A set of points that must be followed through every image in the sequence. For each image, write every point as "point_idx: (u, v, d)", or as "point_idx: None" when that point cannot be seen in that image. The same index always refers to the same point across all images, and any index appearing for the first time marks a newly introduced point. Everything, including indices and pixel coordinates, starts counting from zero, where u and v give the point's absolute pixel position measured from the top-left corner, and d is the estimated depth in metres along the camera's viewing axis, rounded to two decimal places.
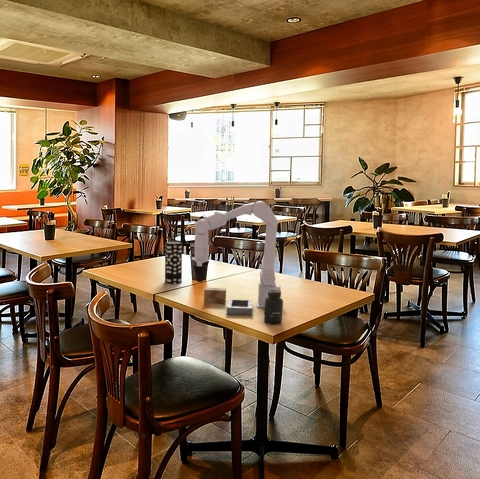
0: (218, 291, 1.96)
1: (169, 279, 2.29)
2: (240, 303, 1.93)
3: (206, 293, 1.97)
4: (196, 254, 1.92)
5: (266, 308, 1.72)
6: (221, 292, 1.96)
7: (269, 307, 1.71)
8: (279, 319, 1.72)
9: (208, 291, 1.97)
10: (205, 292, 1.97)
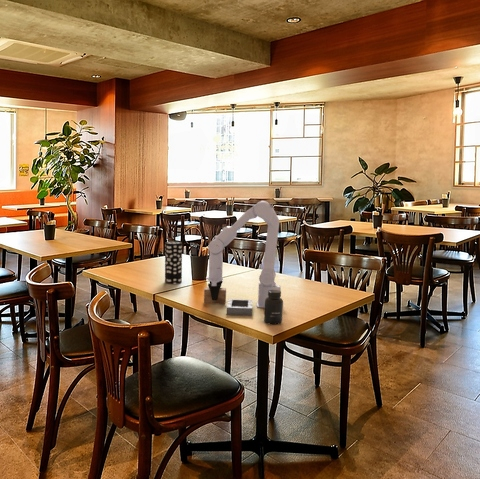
0: None
1: (169, 279, 2.29)
2: (240, 303, 1.93)
3: (206, 293, 1.97)
4: (210, 274, 1.95)
5: (266, 308, 1.72)
6: (221, 291, 1.96)
7: (269, 307, 1.71)
8: (279, 319, 1.72)
9: (208, 291, 1.97)
10: (205, 292, 1.97)
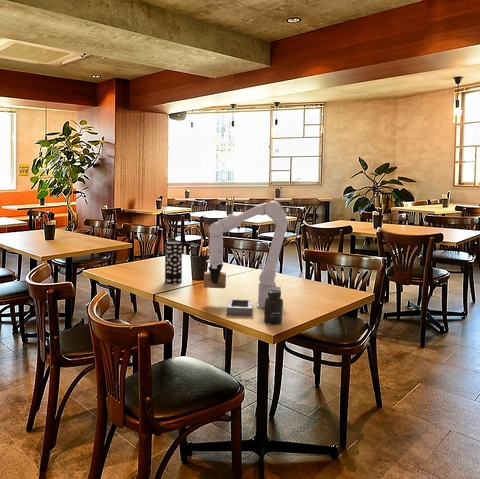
0: None
1: (169, 279, 2.29)
2: (240, 303, 1.93)
3: (206, 277, 1.96)
4: (211, 257, 1.94)
5: (266, 308, 1.72)
6: (221, 276, 1.96)
7: (269, 307, 1.71)
8: (279, 319, 1.72)
9: (208, 275, 1.96)
10: (205, 276, 1.96)
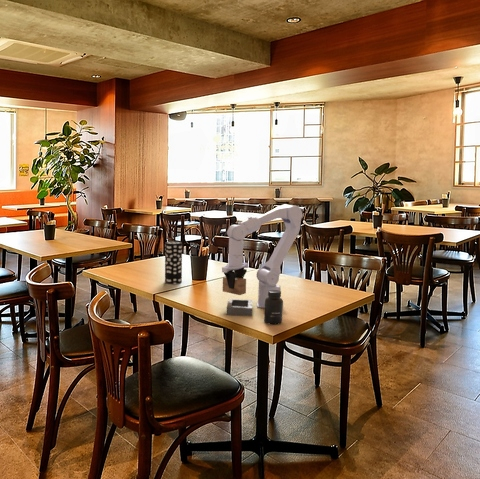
0: None
1: (169, 279, 2.29)
2: (240, 303, 1.93)
3: (224, 281, 1.90)
4: None
5: (266, 308, 1.72)
6: (236, 281, 1.86)
7: (269, 307, 1.71)
8: (279, 319, 1.72)
9: (226, 279, 1.90)
10: (223, 280, 1.91)
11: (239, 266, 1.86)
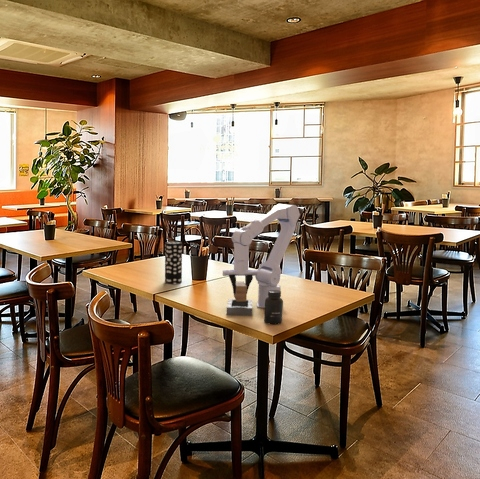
0: None
1: (169, 279, 2.29)
2: (240, 303, 1.93)
3: None
4: None
5: (266, 308, 1.72)
6: (236, 287, 1.84)
7: (269, 307, 1.71)
8: (279, 319, 1.72)
9: None
10: None
11: (239, 272, 1.83)
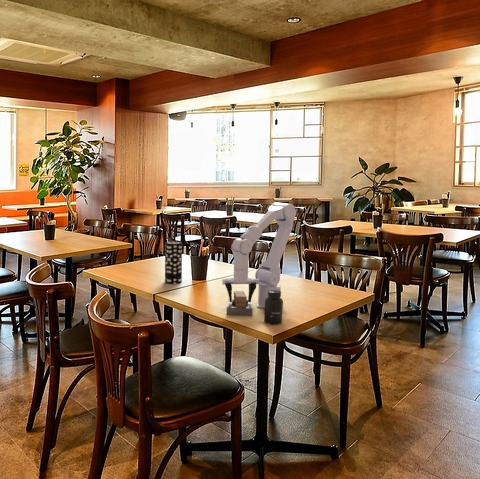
0: (235, 295, 1.86)
1: (169, 279, 2.29)
2: None
3: (234, 295, 1.91)
4: None
5: (266, 308, 1.72)
6: None
7: (269, 307, 1.71)
8: (279, 319, 1.72)
9: (234, 293, 1.90)
10: (234, 293, 1.91)
11: (239, 280, 1.83)
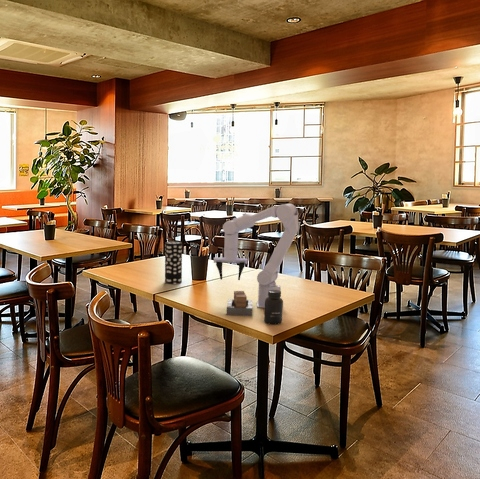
0: (235, 295, 1.86)
1: (169, 279, 2.29)
2: None
3: (234, 295, 1.91)
4: None
5: (266, 308, 1.72)
6: None
7: (269, 307, 1.71)
8: (279, 319, 1.72)
9: (234, 293, 1.90)
10: (234, 293, 1.91)
11: (228, 259, 1.97)
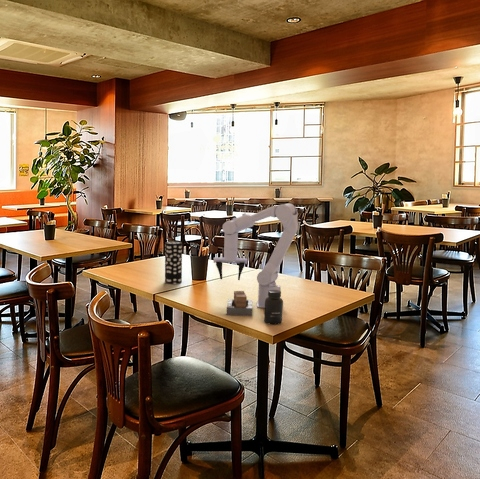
0: (235, 295, 1.86)
1: (169, 279, 2.29)
2: None
3: (234, 295, 1.91)
4: None
5: (266, 308, 1.72)
6: None
7: (269, 307, 1.71)
8: (279, 319, 1.72)
9: (234, 293, 1.90)
10: (234, 293, 1.91)
11: (228, 259, 1.98)
